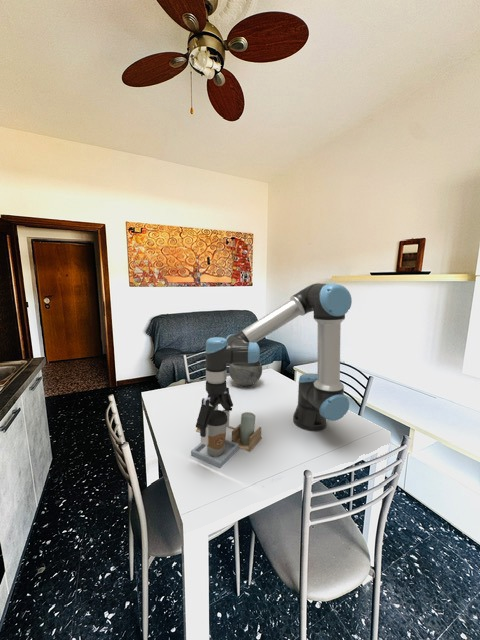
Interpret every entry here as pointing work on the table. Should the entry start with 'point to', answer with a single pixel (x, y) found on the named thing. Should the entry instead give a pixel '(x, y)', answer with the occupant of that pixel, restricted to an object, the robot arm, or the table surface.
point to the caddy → (236, 438)
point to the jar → (246, 427)
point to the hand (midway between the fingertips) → (215, 434)
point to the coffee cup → (216, 433)
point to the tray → (213, 461)
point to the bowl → (245, 373)
